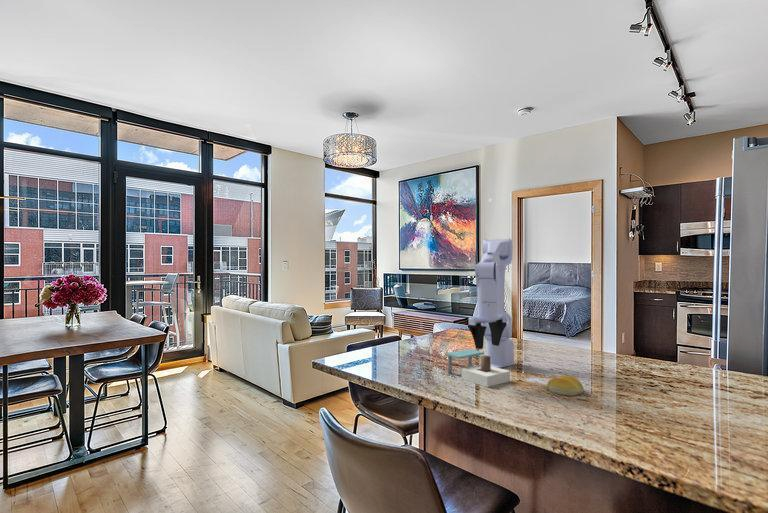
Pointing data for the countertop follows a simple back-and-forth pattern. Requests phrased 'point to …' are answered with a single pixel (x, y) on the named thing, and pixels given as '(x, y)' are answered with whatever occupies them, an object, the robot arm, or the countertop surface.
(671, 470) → the countertop surface
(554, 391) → the bread roll
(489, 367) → the peg
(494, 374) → the socket block
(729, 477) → the countertop surface
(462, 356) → the awning
